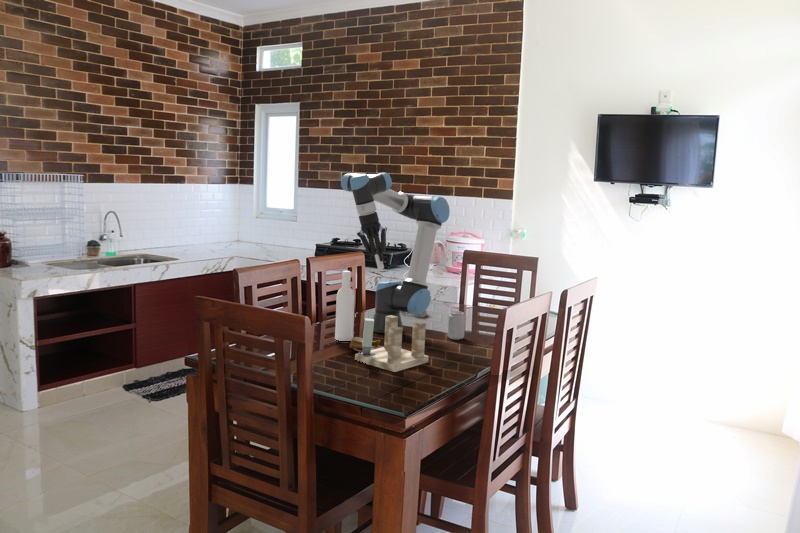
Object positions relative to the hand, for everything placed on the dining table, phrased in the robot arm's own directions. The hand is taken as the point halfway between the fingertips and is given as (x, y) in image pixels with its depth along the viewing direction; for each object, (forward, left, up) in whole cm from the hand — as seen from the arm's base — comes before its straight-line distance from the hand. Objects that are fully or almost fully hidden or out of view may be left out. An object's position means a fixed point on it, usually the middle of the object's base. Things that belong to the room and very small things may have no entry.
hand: (381, 269), depth 262 cm
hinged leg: (+10, -18, -30) cm, 36 cm away
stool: (+17, -11, -33) cm, 39 cm away
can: (+11, +40, -33) cm, 53 cm away
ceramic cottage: (-36, +66, -33) cm, 83 cm away
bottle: (-18, -2, -33) cm, 38 cm away
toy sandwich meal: (-1, -6, -33) cm, 34 cm away
